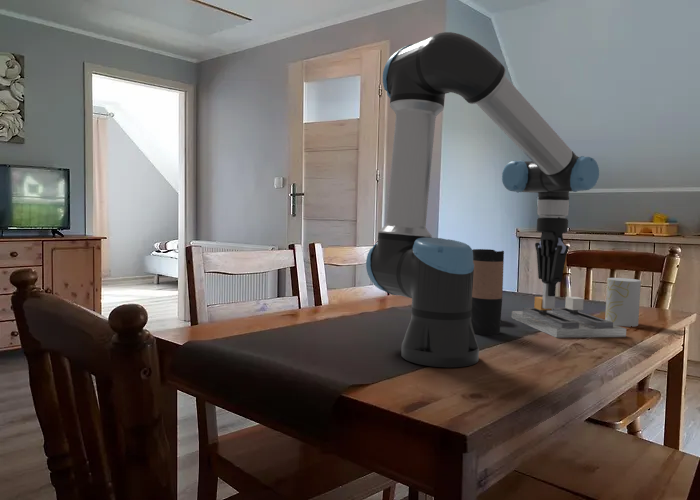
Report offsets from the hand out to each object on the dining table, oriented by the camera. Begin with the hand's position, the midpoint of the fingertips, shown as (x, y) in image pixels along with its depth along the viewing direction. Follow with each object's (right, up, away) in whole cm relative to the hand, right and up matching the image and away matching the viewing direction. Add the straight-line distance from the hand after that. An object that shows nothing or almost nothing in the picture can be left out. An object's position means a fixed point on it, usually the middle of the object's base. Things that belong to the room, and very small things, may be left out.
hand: (548, 308), depth 145 cm
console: (+4, -5, 0) cm, 7 cm away
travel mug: (-19, -5, -8) cm, 21 cm away
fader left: (-1, -2, +3) cm, 4 cm away
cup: (+22, -5, +7) cm, 24 cm away
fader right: (+8, -2, +4) cm, 10 cm away
